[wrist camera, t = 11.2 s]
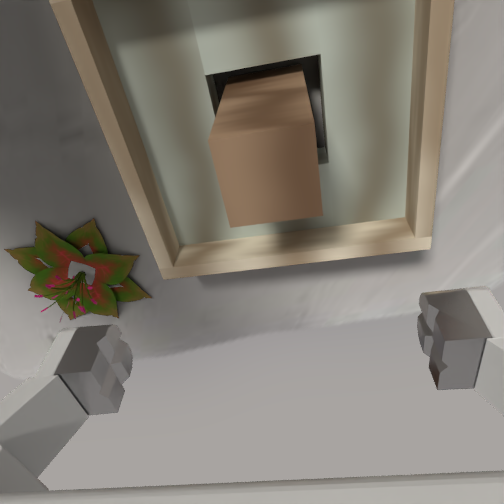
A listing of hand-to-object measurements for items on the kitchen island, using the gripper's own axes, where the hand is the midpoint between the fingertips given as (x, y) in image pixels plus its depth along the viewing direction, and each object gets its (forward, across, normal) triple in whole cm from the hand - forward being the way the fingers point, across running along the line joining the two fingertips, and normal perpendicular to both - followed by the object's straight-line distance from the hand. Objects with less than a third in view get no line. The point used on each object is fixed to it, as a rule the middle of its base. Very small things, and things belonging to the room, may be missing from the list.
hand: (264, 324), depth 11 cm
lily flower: (+20, +18, +12) cm, 29 cm away
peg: (+19, 0, 0) cm, 19 cm away
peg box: (+19, 0, 0) cm, 19 cm away
